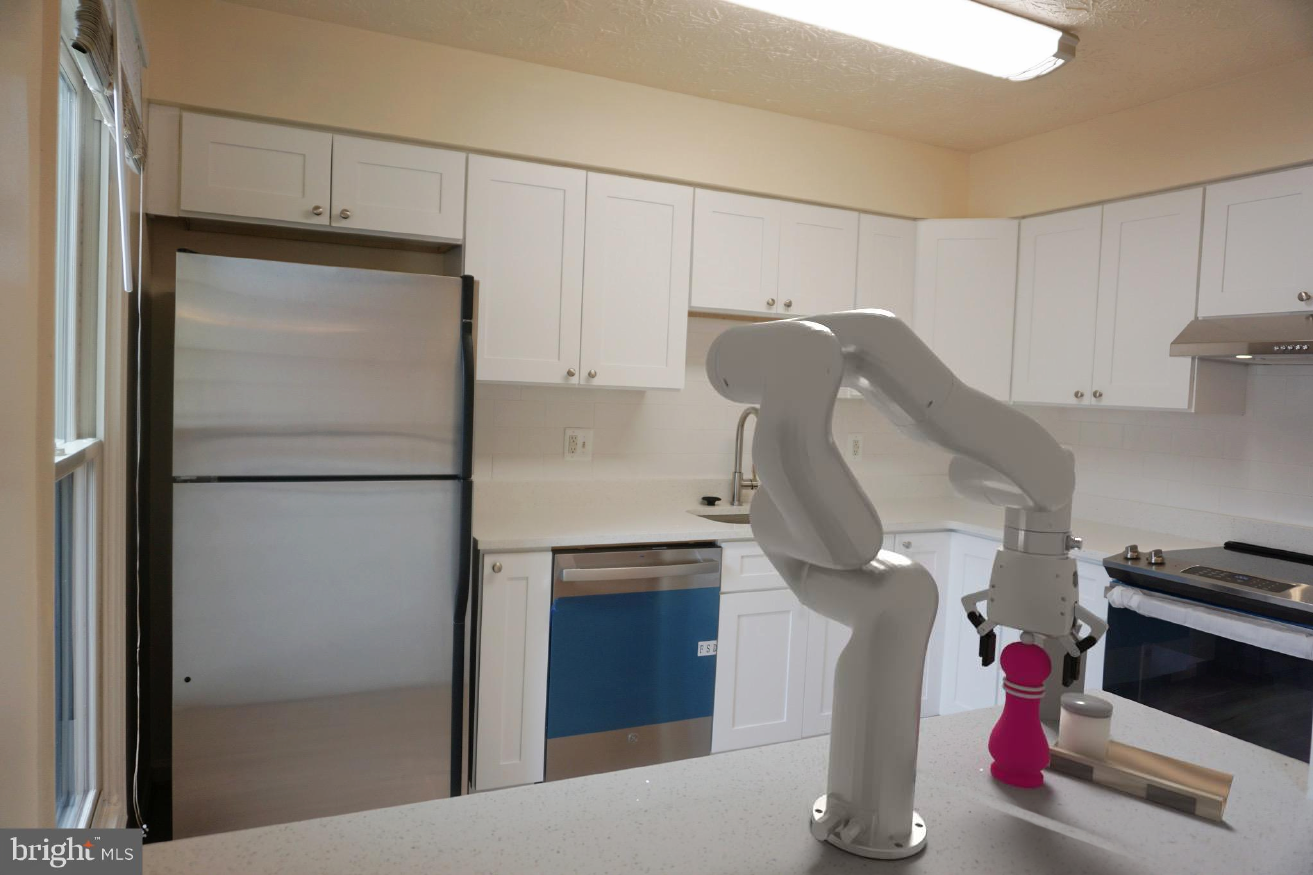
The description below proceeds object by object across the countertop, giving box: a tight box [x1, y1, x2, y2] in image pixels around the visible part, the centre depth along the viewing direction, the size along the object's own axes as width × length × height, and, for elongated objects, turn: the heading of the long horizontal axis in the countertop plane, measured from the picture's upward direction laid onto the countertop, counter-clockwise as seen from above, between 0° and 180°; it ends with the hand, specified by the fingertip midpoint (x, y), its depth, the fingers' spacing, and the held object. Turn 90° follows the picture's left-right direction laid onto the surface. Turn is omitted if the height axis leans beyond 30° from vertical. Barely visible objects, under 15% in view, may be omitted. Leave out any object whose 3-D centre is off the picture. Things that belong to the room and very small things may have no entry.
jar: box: [1057, 693, 1114, 762], centre depth 108 cm, size 6×6×8 cm
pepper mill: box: [987, 631, 1052, 789], centre depth 102 cm, size 7×7×20 cm
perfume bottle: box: [1033, 621, 1088, 721], centre depth 124 cm, size 7×7×18 cm
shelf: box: [1046, 739, 1234, 823], centre depth 105 cm, size 16×20×4 cm
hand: (1026, 673), depth 101 cm, fingers open, 9 cm apart
